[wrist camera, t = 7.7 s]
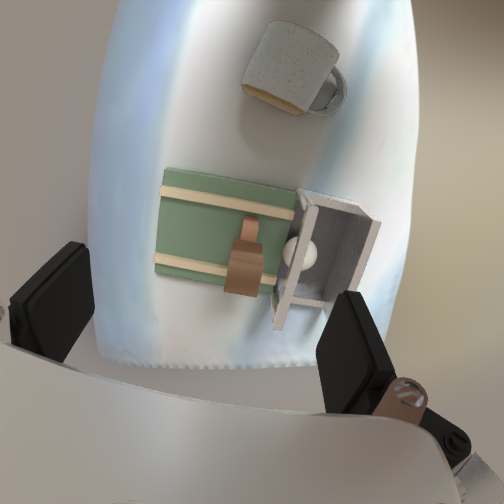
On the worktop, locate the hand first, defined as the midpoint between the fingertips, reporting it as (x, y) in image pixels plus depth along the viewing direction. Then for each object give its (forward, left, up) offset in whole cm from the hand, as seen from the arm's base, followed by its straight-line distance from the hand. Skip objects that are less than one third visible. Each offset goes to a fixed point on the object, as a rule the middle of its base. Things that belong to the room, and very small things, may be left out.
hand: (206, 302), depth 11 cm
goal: (+7, +10, -26) cm, 28 cm away
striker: (+7, +2, -24) cm, 25 cm away
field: (+7, -1, -26) cm, 27 cm away
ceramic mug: (-12, +4, -26) cm, 29 cm away
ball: (+7, +9, -23) cm, 26 cm away
